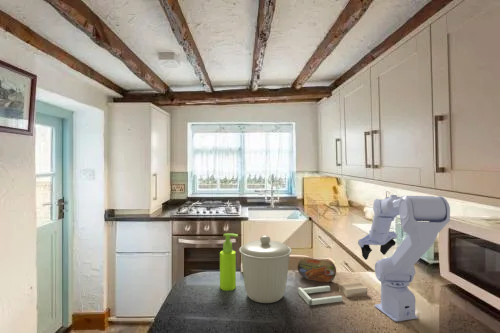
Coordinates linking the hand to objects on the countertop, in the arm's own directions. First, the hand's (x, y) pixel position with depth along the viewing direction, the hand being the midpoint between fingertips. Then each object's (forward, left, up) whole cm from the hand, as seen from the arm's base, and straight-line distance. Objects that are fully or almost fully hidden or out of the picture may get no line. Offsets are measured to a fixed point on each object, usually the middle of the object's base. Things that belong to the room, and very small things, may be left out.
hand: (373, 255), depth 108 cm
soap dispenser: (+11, +53, -12) cm, 56 cm away
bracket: (-4, +24, -12) cm, 27 cm away
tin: (+10, +18, -12) cm, 24 cm away
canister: (+1, +42, -12) cm, 44 cm away
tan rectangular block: (-4, +11, -12) cm, 17 cm away
